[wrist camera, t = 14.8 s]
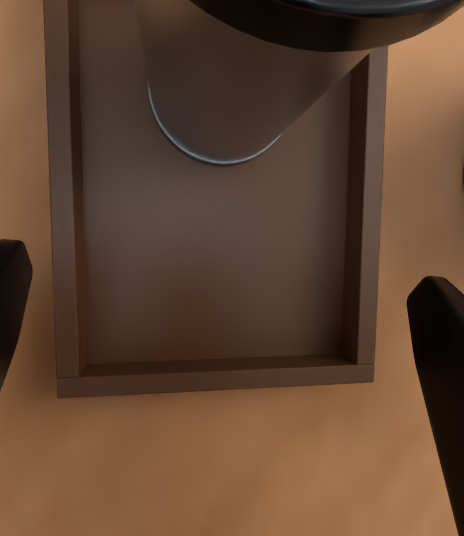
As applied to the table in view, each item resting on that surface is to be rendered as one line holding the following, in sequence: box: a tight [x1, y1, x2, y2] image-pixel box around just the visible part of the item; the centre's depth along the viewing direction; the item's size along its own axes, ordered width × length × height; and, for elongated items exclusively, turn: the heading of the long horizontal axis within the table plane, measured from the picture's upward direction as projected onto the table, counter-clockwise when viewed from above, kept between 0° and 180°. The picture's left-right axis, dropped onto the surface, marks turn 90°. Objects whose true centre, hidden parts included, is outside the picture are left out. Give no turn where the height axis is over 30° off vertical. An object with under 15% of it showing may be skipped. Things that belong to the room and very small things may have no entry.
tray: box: [43, 0, 388, 398], centre depth 16 cm, size 17×13×2 cm
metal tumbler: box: [134, 0, 464, 167], centre depth 10 cm, size 6×6×12 cm
